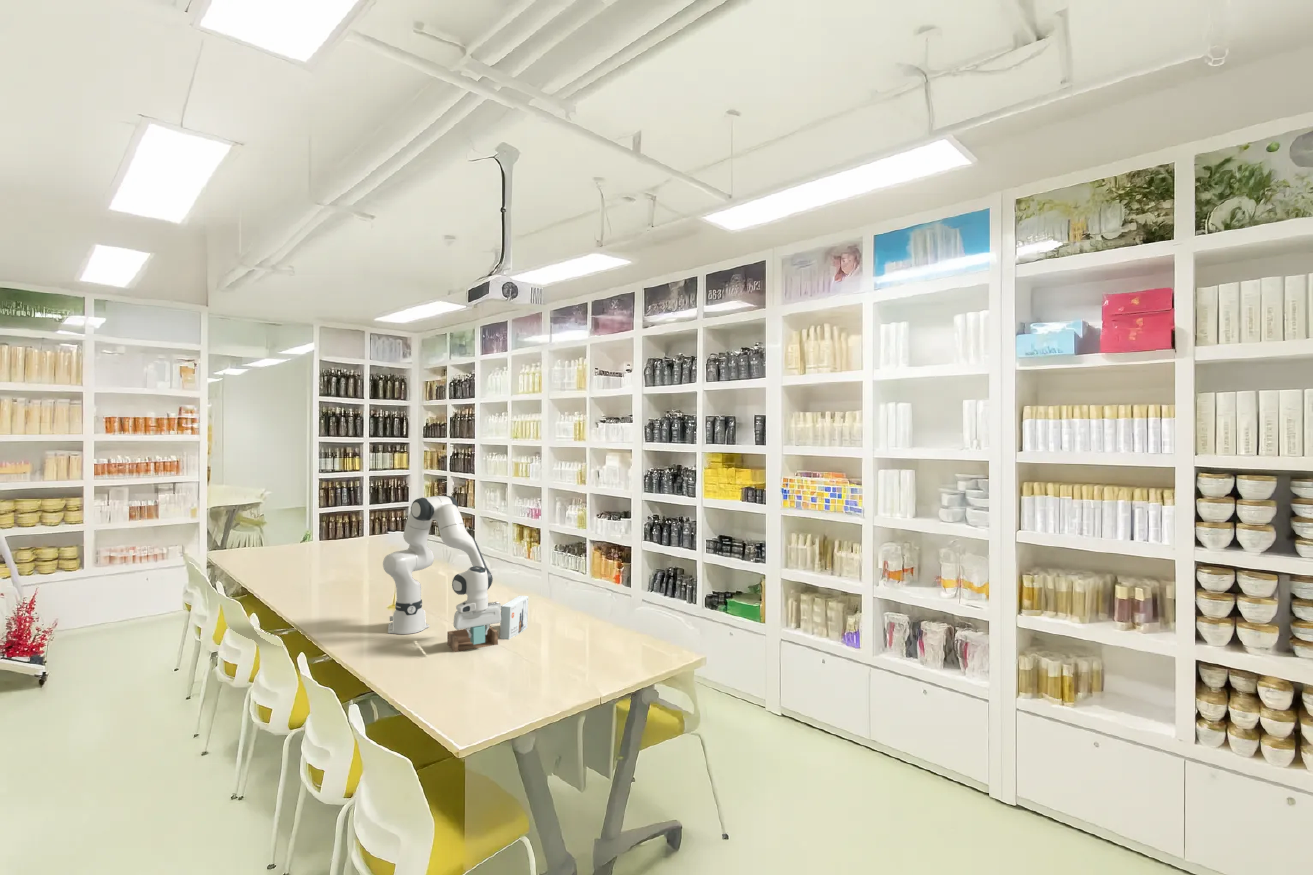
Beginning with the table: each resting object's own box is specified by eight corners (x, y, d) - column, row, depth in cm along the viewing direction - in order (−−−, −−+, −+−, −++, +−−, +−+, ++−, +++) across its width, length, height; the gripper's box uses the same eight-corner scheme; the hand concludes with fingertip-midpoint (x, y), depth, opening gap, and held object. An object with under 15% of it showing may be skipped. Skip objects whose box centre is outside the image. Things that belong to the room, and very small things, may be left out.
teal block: (470, 641, 276) (470, 625, 276) (481, 639, 279) (481, 623, 279) (473, 644, 272) (473, 628, 272) (485, 642, 274) (485, 626, 274)
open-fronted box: (447, 646, 281) (447, 631, 281) (489, 638, 291) (489, 624, 291) (454, 653, 271) (454, 638, 271) (497, 646, 281) (497, 631, 281)
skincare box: (510, 641, 288) (510, 606, 288) (499, 640, 289) (499, 605, 289) (528, 627, 308) (528, 595, 308) (518, 627, 309) (518, 594, 310)
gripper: (498, 599, 283) (498, 630, 283) (452, 606, 272) (452, 638, 272) (503, 602, 278) (503, 633, 278) (456, 609, 267) (456, 641, 267)
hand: (477, 635), depth 275 cm, fingers closed on teal block, 5 cm apart
